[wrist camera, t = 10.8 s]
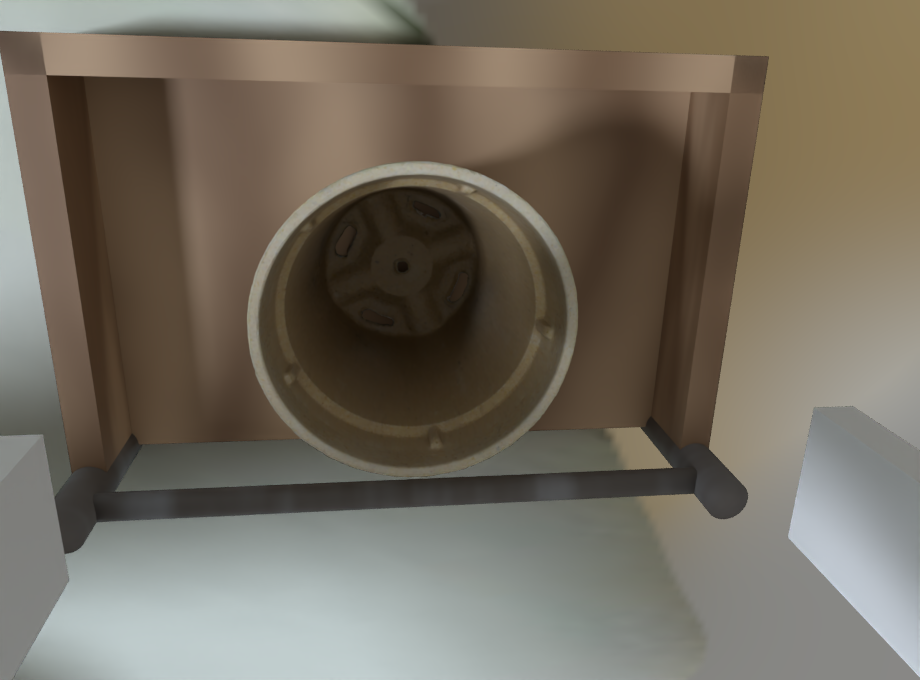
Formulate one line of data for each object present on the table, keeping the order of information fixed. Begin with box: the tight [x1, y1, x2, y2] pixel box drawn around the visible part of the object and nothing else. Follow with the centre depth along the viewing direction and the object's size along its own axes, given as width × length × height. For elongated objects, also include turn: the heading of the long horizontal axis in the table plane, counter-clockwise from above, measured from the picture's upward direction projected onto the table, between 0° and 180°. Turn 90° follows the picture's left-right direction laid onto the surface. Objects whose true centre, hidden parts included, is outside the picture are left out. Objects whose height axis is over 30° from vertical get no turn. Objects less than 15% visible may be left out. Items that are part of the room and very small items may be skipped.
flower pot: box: [247, 161, 578, 477], centre depth 25 cm, size 9×9×9 cm
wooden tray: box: [0, 31, 769, 554], centre depth 26 cm, size 25×16×7 cm, turn 89°
